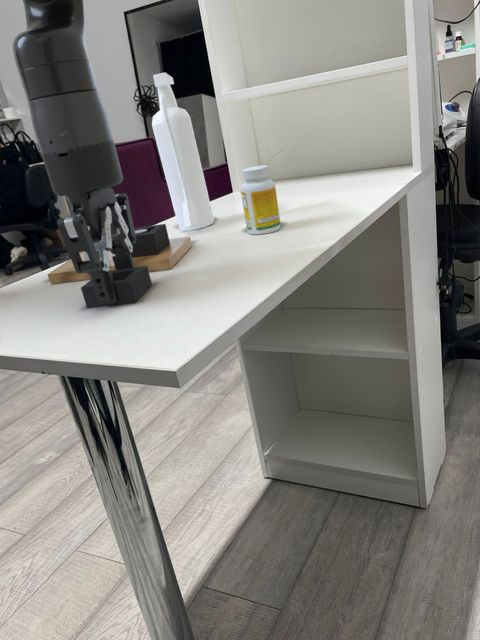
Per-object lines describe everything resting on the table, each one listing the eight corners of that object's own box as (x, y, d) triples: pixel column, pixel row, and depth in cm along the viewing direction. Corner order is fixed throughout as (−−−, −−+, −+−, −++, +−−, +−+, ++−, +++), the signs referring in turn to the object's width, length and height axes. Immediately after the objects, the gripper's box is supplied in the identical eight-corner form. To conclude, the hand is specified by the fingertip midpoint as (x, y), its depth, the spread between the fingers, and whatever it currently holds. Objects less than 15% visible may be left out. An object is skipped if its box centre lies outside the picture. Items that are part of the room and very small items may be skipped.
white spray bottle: (170, 238, 92) (131, 75, 82) (182, 223, 103) (149, 78, 92) (208, 232, 91) (175, 67, 81) (216, 217, 102) (188, 70, 92)
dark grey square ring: (88, 312, 62) (80, 287, 61) (108, 294, 67) (101, 271, 66) (137, 306, 61) (130, 281, 60) (153, 289, 66) (147, 265, 65)
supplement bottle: (241, 235, 85) (229, 172, 81) (260, 226, 89) (250, 165, 85) (268, 235, 82) (258, 170, 78) (287, 225, 86) (278, 163, 82)
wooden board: (50, 284, 77) (40, 253, 75) (85, 259, 87) (77, 232, 85) (171, 269, 73) (163, 236, 71) (192, 245, 84) (185, 217, 82)
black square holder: (118, 259, 77) (112, 239, 76) (132, 248, 82) (127, 228, 81) (158, 254, 76) (153, 233, 75) (170, 243, 81) (165, 223, 80)
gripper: (73, 142, 64) (113, 277, 71) (7, 156, 51) (63, 320, 58) (133, 132, 62) (167, 271, 69) (80, 144, 50) (128, 313, 57)
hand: (119, 292), depth 64 cm, fingers closed on dark grey square ring, 6 cm apart
